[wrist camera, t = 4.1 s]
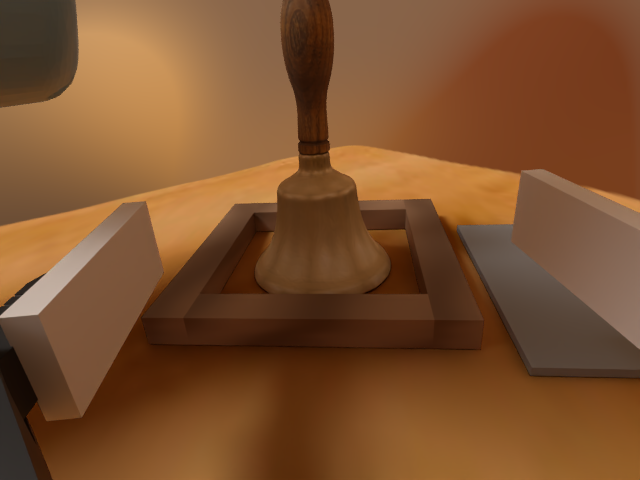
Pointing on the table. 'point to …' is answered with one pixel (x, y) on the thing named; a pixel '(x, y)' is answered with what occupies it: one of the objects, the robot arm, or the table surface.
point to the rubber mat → (545, 312)
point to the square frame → (320, 309)
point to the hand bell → (316, 181)
